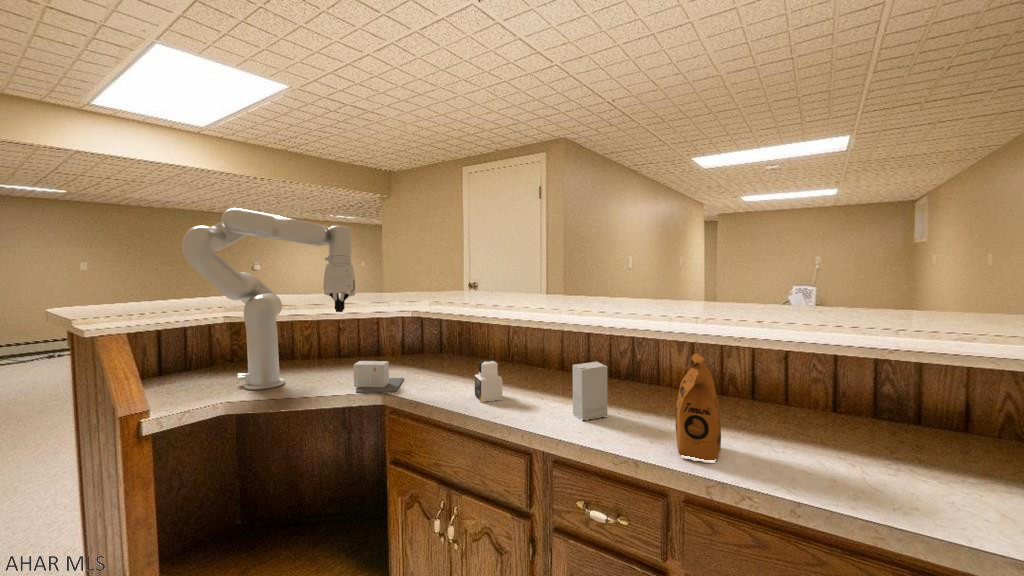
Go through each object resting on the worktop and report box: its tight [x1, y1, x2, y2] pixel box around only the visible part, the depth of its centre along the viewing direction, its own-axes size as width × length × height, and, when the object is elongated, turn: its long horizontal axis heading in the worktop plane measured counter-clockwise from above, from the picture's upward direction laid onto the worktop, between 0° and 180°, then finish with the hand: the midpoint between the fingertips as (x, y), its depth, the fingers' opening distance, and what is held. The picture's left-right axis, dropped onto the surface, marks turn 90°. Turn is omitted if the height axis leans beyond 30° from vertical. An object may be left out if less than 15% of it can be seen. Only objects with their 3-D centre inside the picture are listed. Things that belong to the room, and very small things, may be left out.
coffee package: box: [674, 352, 722, 460], centre depth 106 cm, size 10×12×22 cm
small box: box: [353, 360, 390, 388], centre depth 160 cm, size 8×6×10 cm
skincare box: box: [572, 361, 608, 421], centre depth 130 cm, size 8×6×15 cm
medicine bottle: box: [474, 359, 503, 403], centre depth 147 cm, size 7×7×12 cm
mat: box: [355, 377, 405, 394], centre depth 162 cm, size 13×16×1 cm
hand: (339, 311), depth 168 cm, fingers closed
